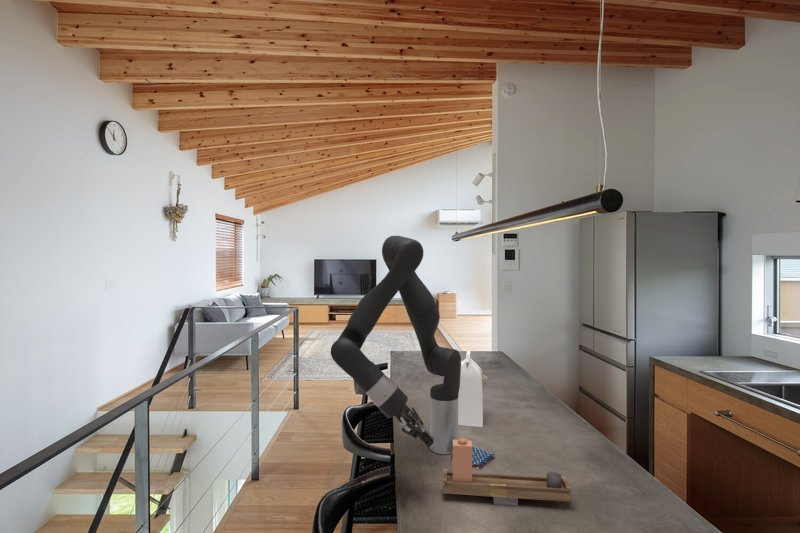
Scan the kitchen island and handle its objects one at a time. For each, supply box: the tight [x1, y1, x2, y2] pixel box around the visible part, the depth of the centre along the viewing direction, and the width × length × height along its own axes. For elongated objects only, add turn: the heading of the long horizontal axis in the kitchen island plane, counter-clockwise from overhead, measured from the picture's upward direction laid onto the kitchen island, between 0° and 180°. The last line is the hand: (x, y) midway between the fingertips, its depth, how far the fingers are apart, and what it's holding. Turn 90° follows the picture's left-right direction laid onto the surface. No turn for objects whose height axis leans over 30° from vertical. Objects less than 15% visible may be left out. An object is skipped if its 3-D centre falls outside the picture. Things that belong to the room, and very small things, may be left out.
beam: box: [442, 468, 572, 507], centre depth 111 cm, size 6×32×7 cm, turn 84°
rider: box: [452, 436, 473, 483], centre depth 112 cm, size 4×5×11 cm
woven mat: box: [450, 446, 495, 470], centre depth 133 cm, size 10×11×2 cm
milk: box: [458, 350, 484, 428], centre depth 164 cm, size 12×12×26 cm
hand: (431, 443), depth 113 cm, fingers closed
